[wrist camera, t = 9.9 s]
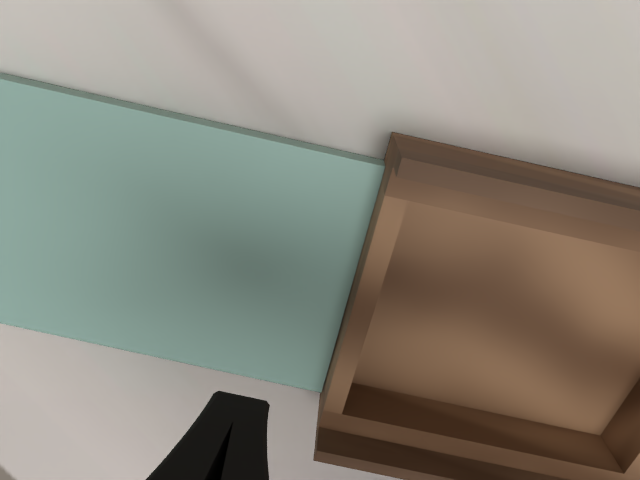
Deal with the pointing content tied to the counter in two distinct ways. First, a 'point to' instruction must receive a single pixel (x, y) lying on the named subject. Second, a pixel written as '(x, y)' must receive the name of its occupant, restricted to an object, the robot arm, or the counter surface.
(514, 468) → the walnut box
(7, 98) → the cover plate
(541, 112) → the counter surface
